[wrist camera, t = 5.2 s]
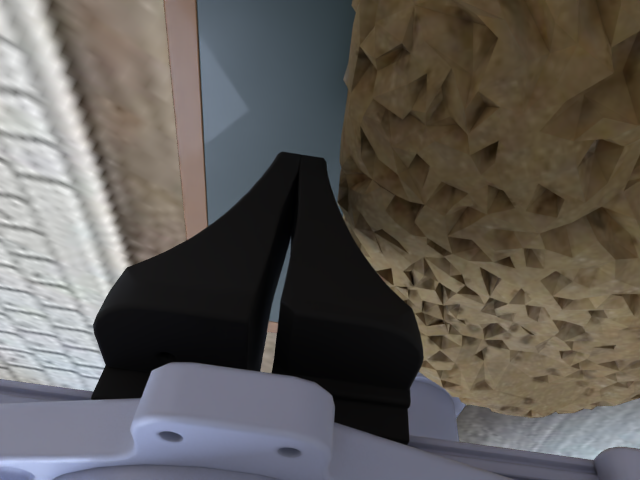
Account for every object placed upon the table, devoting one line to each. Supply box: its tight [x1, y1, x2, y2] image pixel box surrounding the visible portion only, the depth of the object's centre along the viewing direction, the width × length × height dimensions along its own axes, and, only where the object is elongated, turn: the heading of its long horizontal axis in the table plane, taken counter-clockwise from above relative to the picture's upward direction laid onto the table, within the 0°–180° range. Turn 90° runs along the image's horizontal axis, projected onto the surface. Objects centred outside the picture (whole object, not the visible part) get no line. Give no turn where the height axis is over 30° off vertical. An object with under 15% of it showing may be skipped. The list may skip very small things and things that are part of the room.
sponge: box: [337, 0, 640, 418], centre depth 14 cm, size 13×8×20 cm
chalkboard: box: [164, 0, 356, 333], centre depth 17 cm, size 26×26×1 cm
